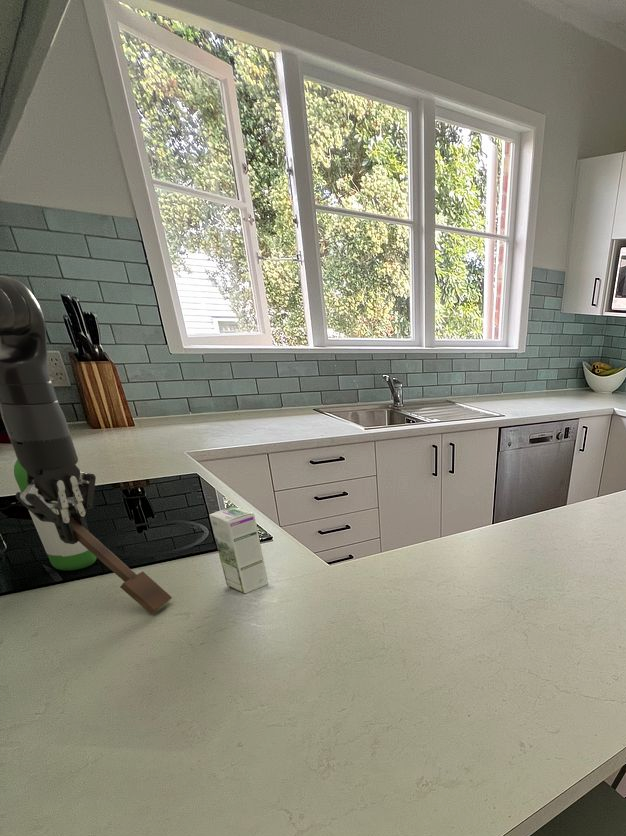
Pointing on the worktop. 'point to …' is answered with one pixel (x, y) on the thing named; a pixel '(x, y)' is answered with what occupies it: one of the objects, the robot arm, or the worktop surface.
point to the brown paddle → (124, 572)
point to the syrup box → (239, 549)
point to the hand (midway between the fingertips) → (76, 539)
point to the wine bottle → (56, 537)
